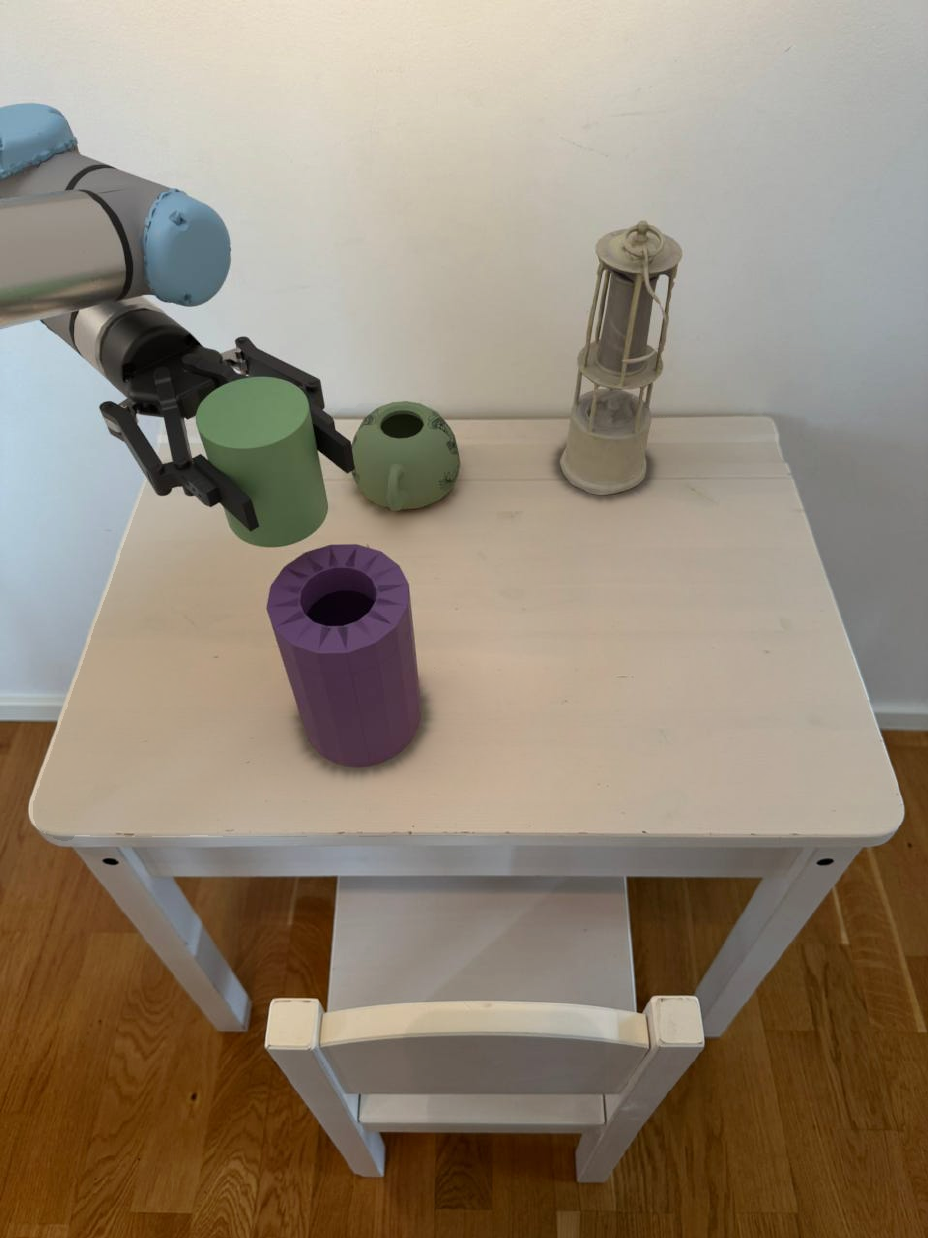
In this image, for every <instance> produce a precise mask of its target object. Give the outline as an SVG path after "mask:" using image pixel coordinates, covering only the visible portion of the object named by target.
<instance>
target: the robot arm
mask: <svg viewBox="0 0 928 1238" xmlns="http://www.w3.org/2000/svg"><path fill="white" fill-rule="evenodd" d="M78 144H79V142H78V138H77V137H76V136H75V134H74V133H73V130H72V128H71V126H70V124H69V122H68V120H67V118H66V116H65V115H63V114H62V112H61V111H60V110H59V109H57V108H55V107H53V106H50V105H48V104H44V103H35V102H24V103H15V104H9V105H4V106H1V107H0V330H3V329H7V328H12V327H16V326H20V325H24V324H28V323H32V322H36V321H40V323H41V324H43V325H45V327H46V329H48V330H49V331H50V332H52V333H53V334H54V335H57V337H58V338H60V340H62V341H64V342H65V343H66V344H67V345H68V346H69V347H70V348H72V350H74V351H75V352H76V353H77V354H78V355H79V356H80V357H82V359H84V361H86V362H87V363H88V364H89V365H90V366H91V367H92V368H93V369H95V370H96V371H97V372H98V373H99V374H100V375H101V376H102V377H104V379H106V380H107V381H108V382H109V383H111V385H112V386H113V387H114V388H115V389H116V390H118V391H119V392H120V394H122V395H123V396H124V397H125V399H124V400H122V401H121V402H119V403H117V402H114V401H112V400H107V401H103V402H101V403H100V404H99V406H98V408H99V411H100V413H101V416H102V418H103V419H104V423H105V425H106V427H107V430H108V432H109V434H110V435H111V436H113V437H115V439H118V440H120V441H121V442H123V443H124V444H125V445H126V447H127V448H128V450H129V452H130V453H131V455H132V457H133V459H134V460H135V461H136V463H137V465H138V466H139V468H140V470H141V472H142V473H143V474H144V476H145V478H146V480H147V481H148V482H149V484H150V486H151V488H152V489H153V491H154V493H155V494H156V495H157V496H159V497H165V496H168V495H170V494H171V493H172V492H173V489H175V488H182V490H183V494H184V495H185V496H187V497H195V498H197V499H198V501H200V502H201V504H203V505H204V506H206V507H209V508H213V507H215V506H216V505H218V504H220V505H221V506H222V508H223V507H225V508H226V509H227V510H228V511H229V512H230V513H231V514H232V515H233V516H234V517H235V518H236V519H237V520H239V521H240V522H241V523H242V524H243V525H244V526H245V527H246V528H247V529H248V530H249V531H250V532H251V531H253V530H254V529H256V528H258V527H259V523H258V520H257V516H256V513H255V509H254V506H253V502H252V499H251V498H250V497H249V496H247V495H246V494H245V493H244V492H243V491H242V490H241V489H240V488H239V487H237V486H236V485H235V484H234V483H233V482H232V481H231V480H230V479H229V478H227V477H226V476H225V475H224V474H223V473H222V472H221V471H220V470H218V469H217V468H216V467H215V466H214V465H213V464H212V463H211V462H210V461H208V459H207V457H205V456H204V455H203V454H202V453H199V454H197V455H196V456H194V457H193V453H192V450H191V445H190V441H189V436H188V429H187V425H186V421H185V419H186V420H190V419H192V418H194V417H196V413H197V410H198V408H199V406H200V404H201V403H202V401H203V400H204V399H205V398H206V397H207V396H208V395H209V394H210V393H211V392H213V391H214V390H216V389H217V388H219V387H221V386H223V385H225V384H227V383H230V382H233V381H236V380H240V379H244V378H250V377H273V378H278V379H282V380H285V381H288V382H290V383H292V384H294V385H296V386H297V387H298V388H300V389H301V390H302V391H303V393H304V394H305V395H306V397H307V399H308V403H309V408H310V413H311V418H312V424H313V429H314V434H315V439H316V444H317V450H318V453H319V452H320V454H322V455H323V456H324V457H325V458H326V459H327V460H329V461H330V462H332V463H333V464H334V465H335V466H336V467H338V468H339V469H340V470H341V471H343V472H344V473H345V474H346V475H348V474H350V473H351V471H353V470H355V466H354V459H353V453H352V441H351V440H350V439H348V438H347V437H346V436H344V435H343V434H342V433H341V432H339V431H338V430H337V429H336V424H335V420H334V418H333V416H332V415H330V414H329V413H327V412H326V411H325V410H324V409H325V407H326V405H325V398H324V395H323V394H324V393H323V388H322V387H323V386H322V382H321V379H320V378H318V377H316V376H314V375H312V374H310V373H308V372H307V371H305V370H302V369H301V368H298V367H296V366H294V365H292V364H290V363H288V362H286V361H285V360H282V359H280V358H278V357H276V356H274V355H272V354H270V353H268V352H266V351H264V350H262V349H260V348H258V347H257V346H256V345H255V344H254V342H253V341H252V340H251V339H250V338H249V337H248V336H243V335H242V336H238V337H236V338H235V340H234V344H235V347H234V348H231V349H229V350H226V351H222V352H219V351H218V350H216V349H213V348H208V347H206V346H204V345H202V343H201V342H200V341H199V339H197V338H196V337H195V336H194V335H193V334H192V333H191V331H189V330H188V329H186V328H185V327H184V326H183V325H181V324H180V323H178V321H176V320H175V319H174V318H172V317H171V316H169V315H168V314H167V313H166V312H165V311H164V310H163V309H161V308H160V307H159V306H157V305H156V303H154V302H152V301H151V300H149V299H148V298H147V297H145V296H154V297H155V298H156V299H158V300H159V301H160V302H162V303H166V304H167V303H168V304H175V305H178V306H181V307H186V308H187V307H188V308H189V307H190V308H192V307H197V306H202V305H204V304H205V303H207V302H209V301H210V300H212V298H214V297H215V296H216V295H217V294H218V293H219V292H220V290H221V289H222V288H223V286H224V284H225V282H226V280H227V277H228V275H229V271H230V268H231V263H232V254H231V252H232V248H231V247H232V246H231V236H230V233H229V230H228V228H227V225H226V223H225V222H224V220H223V218H222V217H221V215H220V214H219V213H218V212H217V211H216V210H215V209H214V208H213V207H211V206H210V205H208V204H206V203H205V202H202V201H201V200H198V199H197V198H194V197H193V196H190V195H188V193H187V192H185V191H184V190H180V189H179V188H177V187H169V186H166V185H163V184H160V183H158V182H155V181H152V180H150V179H147V178H144V177H141V176H138V175H136V174H133V173H130V172H127V171H126V170H125V171H124V170H121V169H119V168H117V167H116V166H115V167H114V166H112V165H110V164H107V163H105V162H102V161H99V160H96V159H95V158H91V157H89V156H87V155H84V154H82V153H80V151H79V146H78ZM236 371H238V372H239V373H238V372H236ZM137 415H141V416H146V417H155V418H161V419H162V418H163V421H164V426H165V431H166V436H167V441H168V445H169V451H170V456H171V461H169V462H165V463H163V462H162V460H161V459H160V457H159V455H158V454H157V452H156V451H155V449H154V447H153V445H151V443H150V441H149V440H148V438H147V436H146V435H145V434H144V432H143V430H142V429H141V427H140V425H139V424H138V423H139V419H138V416H137Z"/></svg>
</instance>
